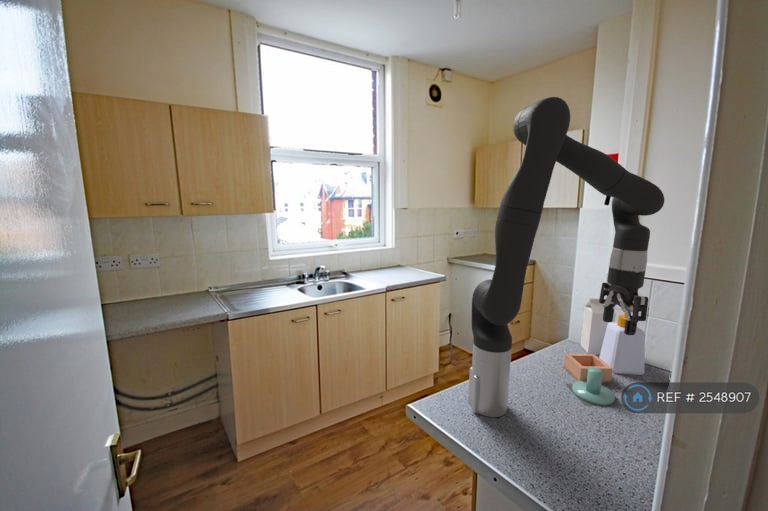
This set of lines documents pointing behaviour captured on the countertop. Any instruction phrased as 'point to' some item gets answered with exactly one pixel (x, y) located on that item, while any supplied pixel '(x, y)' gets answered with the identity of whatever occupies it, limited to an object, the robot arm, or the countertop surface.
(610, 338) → the soap bottle
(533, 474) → the countertop surface
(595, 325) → the milk carton
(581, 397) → the lid
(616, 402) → the mat
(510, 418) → the countertop surface
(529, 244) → the robot arm
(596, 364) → the dish
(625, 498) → the countertop surface
